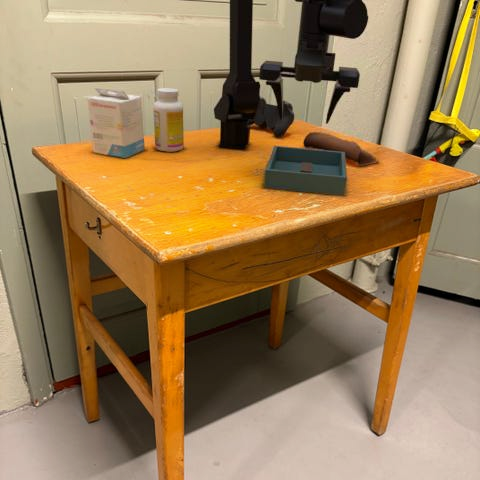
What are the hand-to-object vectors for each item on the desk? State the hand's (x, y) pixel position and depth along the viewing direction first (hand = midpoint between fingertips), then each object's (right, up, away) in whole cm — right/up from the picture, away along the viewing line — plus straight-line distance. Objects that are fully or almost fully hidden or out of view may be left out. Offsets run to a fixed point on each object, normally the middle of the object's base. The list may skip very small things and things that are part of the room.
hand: (303, 121), depth 104 cm
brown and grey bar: (+1, -10, +4) cm, 11 cm away
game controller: (-6, +11, +38) cm, 40 cm away
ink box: (-40, -2, +14) cm, 42 cm away
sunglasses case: (+11, -1, +21) cm, 23 cm away
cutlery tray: (+1, -10, +5) cm, 11 cm away
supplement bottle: (-29, 0, +18) cm, 34 cm away
